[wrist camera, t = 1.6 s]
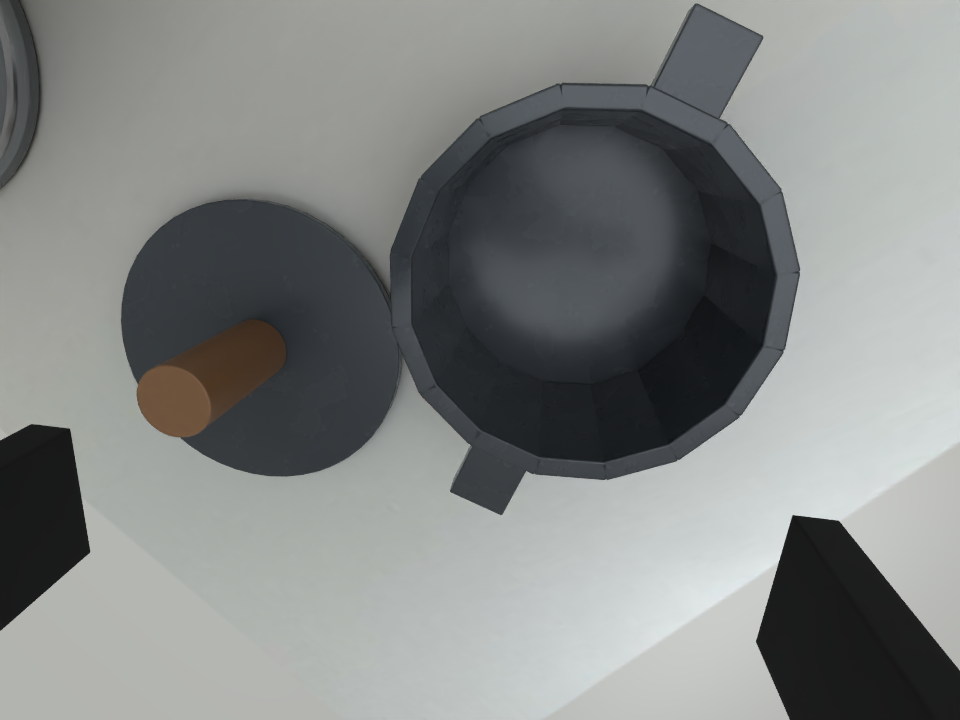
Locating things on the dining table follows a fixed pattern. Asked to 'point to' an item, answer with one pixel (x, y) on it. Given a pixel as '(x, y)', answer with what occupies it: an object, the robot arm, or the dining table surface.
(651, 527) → the dining table surface
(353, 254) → the lid
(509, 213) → the pot
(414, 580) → the dining table surface
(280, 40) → the dining table surface
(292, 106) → the dining table surface
